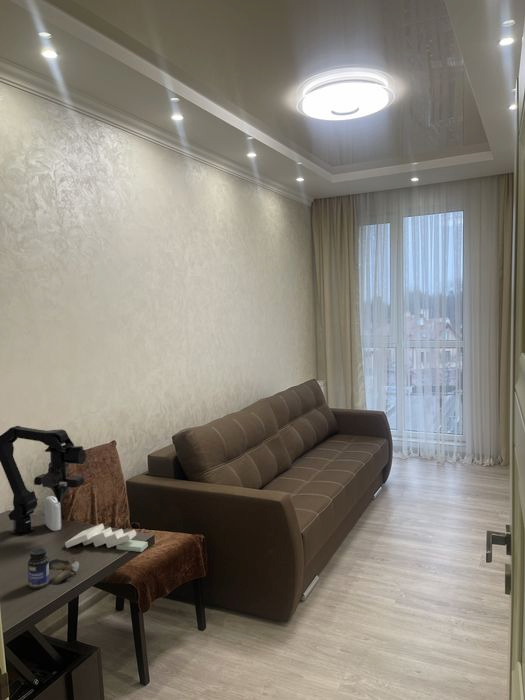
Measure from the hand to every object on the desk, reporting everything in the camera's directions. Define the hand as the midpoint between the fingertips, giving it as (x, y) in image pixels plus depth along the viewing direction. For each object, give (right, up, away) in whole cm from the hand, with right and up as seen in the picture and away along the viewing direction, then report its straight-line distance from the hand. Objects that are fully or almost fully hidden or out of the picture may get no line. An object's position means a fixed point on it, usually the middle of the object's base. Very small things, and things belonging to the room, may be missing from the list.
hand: (59, 502), depth 207 cm
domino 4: (+22, -13, -9) cm, 27 cm away
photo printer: (-6, -13, +9) cm, 16 cm away
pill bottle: (+8, -16, -38) cm, 42 cm away
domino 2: (+13, -12, -7) cm, 19 cm away
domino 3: (+17, -13, -8) cm, 23 cm away
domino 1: (+8, -13, -6) cm, 16 cm away
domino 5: (+26, -13, -10) cm, 31 cm away
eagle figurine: (+14, -15, -34) cm, 40 cm away
